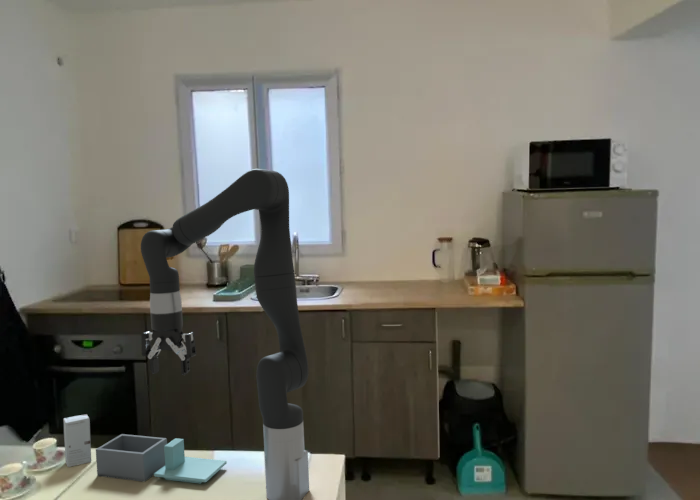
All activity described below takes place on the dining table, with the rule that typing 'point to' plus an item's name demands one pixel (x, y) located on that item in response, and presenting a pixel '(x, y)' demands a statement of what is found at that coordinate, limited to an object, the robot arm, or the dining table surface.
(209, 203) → the robot arm
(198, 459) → the tub lid
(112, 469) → the box
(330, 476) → the dining table surface
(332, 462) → the dining table surface
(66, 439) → the skincare box
